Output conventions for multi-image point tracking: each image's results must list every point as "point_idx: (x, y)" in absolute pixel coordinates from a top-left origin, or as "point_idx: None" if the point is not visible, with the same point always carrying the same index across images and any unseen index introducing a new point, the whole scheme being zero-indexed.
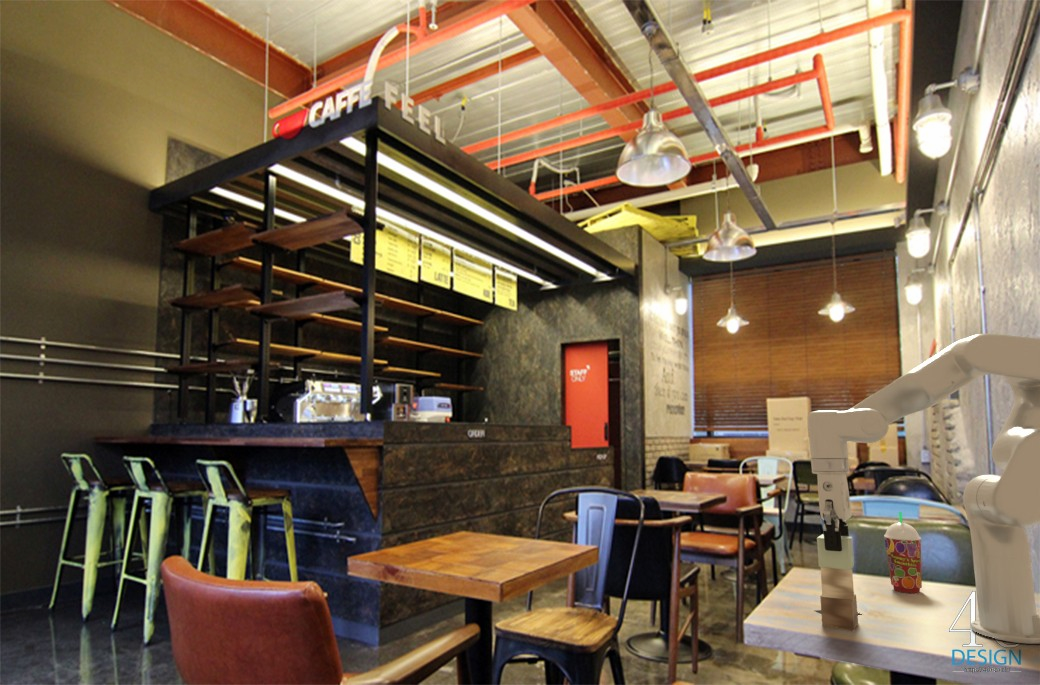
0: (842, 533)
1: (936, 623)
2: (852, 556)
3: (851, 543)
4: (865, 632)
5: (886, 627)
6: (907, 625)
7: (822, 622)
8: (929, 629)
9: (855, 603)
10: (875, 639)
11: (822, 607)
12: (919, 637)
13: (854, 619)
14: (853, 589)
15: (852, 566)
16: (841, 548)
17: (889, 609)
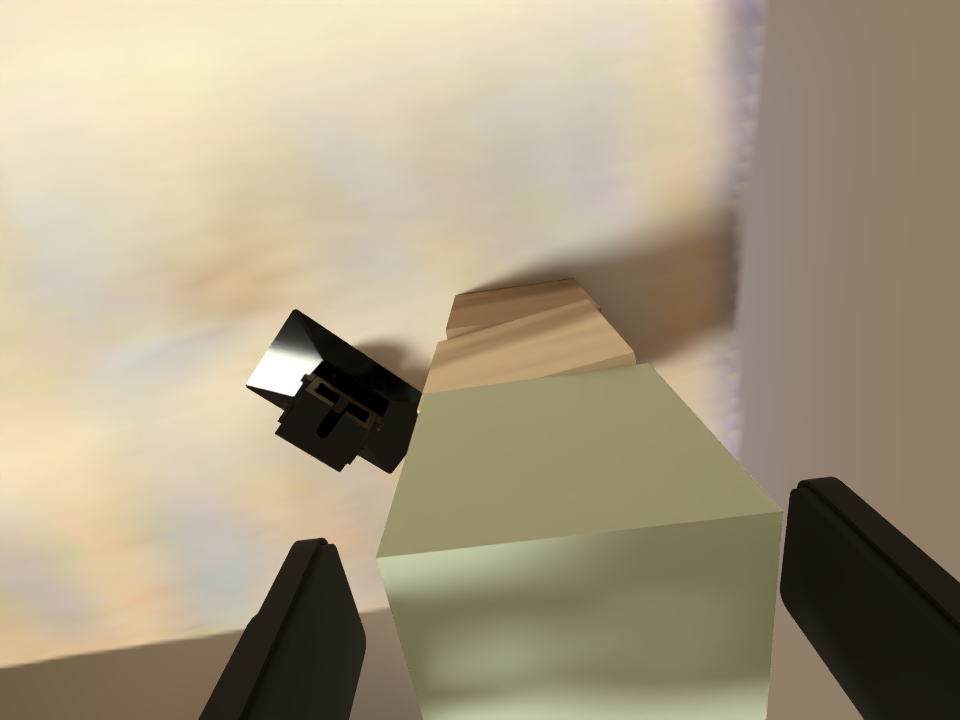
0: (305, 684)
1: (166, 15)
2: (471, 423)
3: (467, 497)
4: (570, 235)
5: (427, 188)
6: (320, 122)
7: None
8: (309, 16)
9: (484, 314)
10: (652, 172)
11: None
12: (490, 21)
13: (545, 290)
14: (598, 313)
15: (507, 384)
16: (850, 489)
17: (106, 262)
